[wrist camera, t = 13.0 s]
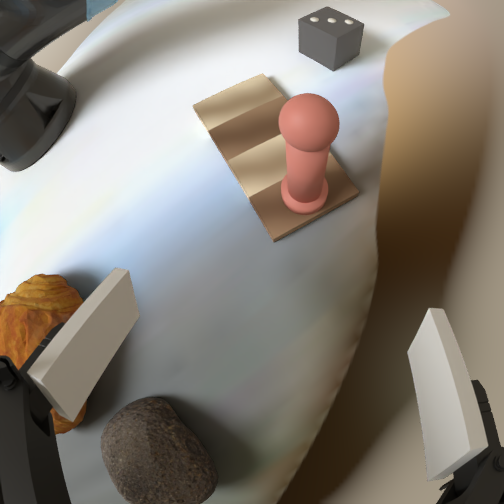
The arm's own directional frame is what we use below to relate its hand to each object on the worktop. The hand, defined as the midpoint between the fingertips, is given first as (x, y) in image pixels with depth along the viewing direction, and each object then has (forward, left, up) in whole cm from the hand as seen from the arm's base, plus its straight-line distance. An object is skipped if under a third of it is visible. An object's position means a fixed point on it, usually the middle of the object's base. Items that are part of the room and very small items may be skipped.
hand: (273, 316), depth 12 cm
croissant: (-7, -22, -11) cm, 25 cm away
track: (-13, +6, -10) cm, 18 cm away
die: (-22, +19, -10) cm, 31 cm away
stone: (+6, -14, -11) cm, 18 cm away
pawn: (-7, +6, -9) cm, 14 cm away
